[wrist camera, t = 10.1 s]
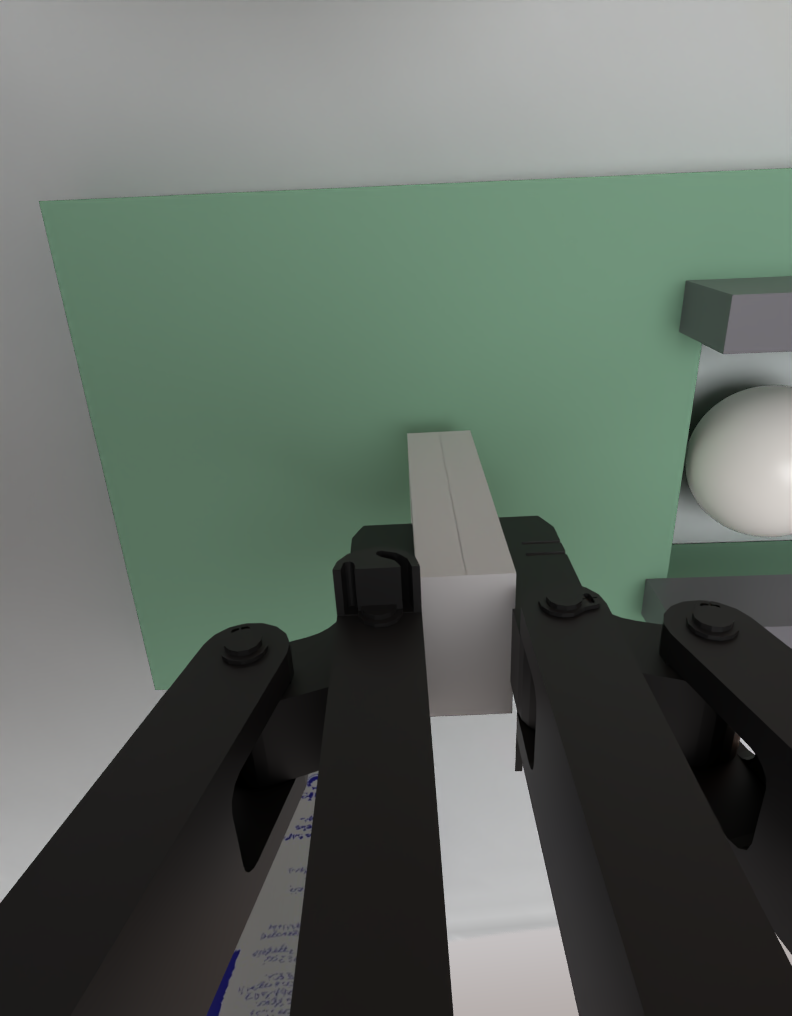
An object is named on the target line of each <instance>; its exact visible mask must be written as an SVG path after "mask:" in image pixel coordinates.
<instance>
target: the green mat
mask: <svg viewBox="0 0 792 1016" xmlns="http://www.w3.org/2000/svg"><path fill="white" fill-rule="evenodd" d="M39 204H40V208H41V212H42V216H43V221H44V225H45V229H46V233H47V237H48V242H49V246H50V250H51V254H52V258H53V263H54V267H55V271H56V275H57V279H58V284H59V288H60V292H61V296H62V300H63V305H64V309H65V313H66V317H67V321H68V326H69V330H70V334H71V338H72V342H73V347H74V351H75V355H76V359H77V363H78V368H79V372H80V376H81V380H82V384H83V388H84V393H85V397H86V401H87V405H88V409H89V414H90V418H91V422H92V426H93V430H94V435H95V439H96V443H97V447H98V451H99V456H100V460H101V464H102V468H103V472H104V477H105V481H106V485H107V489H108V493H109V498H110V502H111V506H112V510H113V514H114V519H115V523H116V527H117V531H118V535H119V540H120V544H121V548H122V552H123V556H124V560H125V565H126V569H127V573H128V577H129V581H130V586H131V590H132V594H133V598H134V602H135V607H136V611H137V615H138V619H139V623H140V628H141V632H142V636H143V640H144V644H145V649H146V653H147V657H148V661H149V665H150V670H151V674H152V678H153V682H154V686H155V690H168V689H169V688H170V687H171V685H172V684H173V683H174V681H175V680H176V679H177V678H178V676H179V675H180V674H181V673H182V671H183V670H184V669H185V667H186V666H187V665H188V664H189V662H190V661H191V660H192V658H193V657H194V656H195V655H196V653H197V652H198V651H199V650H200V648H201V647H202V646H203V644H205V643H206V642H207V641H208V640H209V639H210V638H211V637H212V636H214V635H215V634H217V633H219V632H221V631H223V630H225V629H227V628H229V627H233V626H236V625H240V624H245V623H265V624H269V625H273V626H277V627H278V628H279V629H281V630H282V631H284V632H285V633H286V634H287V637H288V639H289V642H291V641H294V640H298V639H302V638H306V637H309V636H312V635H315V634H318V633H320V632H322V631H324V630H326V629H328V628H329V627H330V626H332V625H333V624H334V623H335V622H336V621H337V611H336V601H335V592H334V582H333V572H332V570H333V568H334V566H335V564H336V562H337V561H338V560H340V559H341V558H342V557H344V556H345V555H347V554H349V553H350V551H351V542H352V538H353V536H354V535H355V534H356V533H357V532H358V531H359V530H360V529H361V528H362V527H363V526H367V525H388V524H409V523H411V508H410V486H409V463H408V441H407V433H426V432H446V431H466V430H470V431H471V435H472V438H473V441H474V444H475V447H476V450H477V453H478V456H479V459H480V462H481V465H482V469H483V472H484V475H485V478H486V481H487V484H488V487H489V490H490V493H491V496H492V500H493V503H494V506H495V509H496V512H497V515H498V517H518V516H539V517H541V518H542V519H544V520H545V521H546V522H548V523H549V524H551V525H552V526H553V527H554V528H555V530H556V532H557V535H558V537H559V539H560V543H562V545H563V547H564V549H565V553H566V554H567V555H568V558H569V560H570V562H571V564H572V566H573V568H574V570H575V572H576V574H577V576H578V579H579V581H580V583H581V585H582V586H583V587H586V588H588V589H590V590H592V591H594V592H596V593H597V594H599V595H600V596H601V597H602V598H603V600H604V601H605V602H606V603H607V605H608V607H609V609H610V611H611V613H612V614H613V615H616V616H619V617H621V618H626V619H631V620H635V621H642V622H646V621H645V620H644V618H643V616H642V614H641V612H642V604H643V597H644V589H645V582H646V579H655V578H687V577H719V576H751V575H783V574H792V541H762V542H731V543H700V544H672V541H673V534H674V527H675V521H676V514H677V507H678V500H679V494H680V487H681V480H682V474H683V467H684V460H685V453H686V447H687V440H688V433H689V427H690V420H691V413H692V406H693V400H694V393H695V386H696V380H697V373H698V366H699V359H700V353H701V346H702V343H700V342H698V341H696V340H694V339H692V338H690V337H688V336H686V335H684V334H682V333H680V332H679V328H680V320H681V313H682V305H683V298H684V291H685V283H686V280H707V279H732V278H756V277H781V276H792V168H783V169H760V170H738V171H715V172H692V173H670V174H647V175H624V176H601V177H579V178H556V179H533V180H510V181H488V182H465V183H442V184H419V185H397V186H374V187H351V188H328V189H306V190H283V191H260V192H238V193H215V194H192V195H169V196H147V197H124V198H101V199H78V200H56V201H39Z"/></svg>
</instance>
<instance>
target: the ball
mask: <svg viewBox="0 0 792 1016" xmlns="http://www.w3.org/2000/svg"><path fill="white" fill-rule="evenodd" d="M685 469H686V477H687V481H688V484H689V487H690V490H691V492H692V494H693V496H694V497H695V499H696V501H697V502H698V504H699V505H700V506H701V507H702V509H703V510H704V511H705V512H706V513H707V514H708V515H709V516H711V517H712V518H713V519H714V520H716V521H717V522H719V523H720V524H722V525H723V526H725V527H727V528H729V529H732V530H734V531H737V532H740V533H743V534H746V535H752V536H760V537H779V536H785V535H790V534H792V387H790V386H783V385H768V386H759V387H754V388H749V389H746V390H743V391H740V392H737V393H735V394H733V395H731V396H729V397H727V398H725V399H723V400H722V401H720V402H719V403H718V404H716V405H715V406H714V407H713V408H711V409H710V410H709V411H708V412H707V413H706V414H705V415H704V417H703V418H702V419H701V420H700V421H699V423H698V424H697V426H696V428H695V429H694V431H693V433H692V435H691V437H690V440H689V443H688V446H687V450H686V458H685Z"/></svg>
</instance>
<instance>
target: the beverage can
mask: <svg viewBox="0 0 792 1016" xmlns="http://www.w3.org/2000/svg"><path fill="white" fill-rule="evenodd" d="M318 772H319V771H317V772H313V773H310V774H308V779H307V785H306V788H305V790H304V793H303V795H302V797H301V799H300V802H299V804H298V806H297V809H296V811H295V813H294V815H293V818H292V820H291V822H290V825H289V827H288V829H287V832H286V834H285V836H284V838H283V841H282V843H281V845H280V848H279V850H278V852H277V854H276V857H275V859H274V861H273V864H272V866H271V868H270V871H269V873H268V875H267V877H266V880H265V882H264V884H263V887H262V889H261V891H260V893H259V896H258V898H257V900H256V903H255V905H254V907H253V910H252V912H251V914H250V916H249V919H248V921H247V923H246V926H245V928H244V930H243V932H242V935H241V937H240V939H239V942H238V944H237V946H236V949H235V951H234V953H233V955H232V958H231V960H230V962H229V965H228V967H227V969H226V971H225V974H224V976H223V978H222V981H221V983H220V985H219V988H218V990H217V992H216V994H215V997H214V999H213V1001H212V1004H211V1006H210V1008H209V1011H208V1013H207V1015H206V1016H289V1015H290V1007H291V998H292V990H293V982H294V973H295V965H296V956H297V948H298V940H299V931H300V923H301V914H302V906H303V898H304V889H305V881H306V872H307V864H308V856H309V847H310V839H311V830H312V822H313V814H314V805H315V797H316V788H317V780H318Z"/></svg>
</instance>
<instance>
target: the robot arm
mask: <svg viewBox="0 0 792 1016" xmlns="http://www.w3.org/2000/svg"><path fill="white" fill-rule="evenodd" d="M407 441H408V463H409V486H410V508H411V523H409V524H388V525H367V526H363V527H362V528H361V529H360V530H359V531H358V532H357V533H356V534H355V535H354V536H353V538H352V542H351V551H350V553H349V554H347V555H345V556H344V557H342V558H341V559H340V560H338V561H337V562H336V564H335V566H334V568H333V570H332V572H333V582H334V592H335V601H336V611H337V621H336V622H335V623H334V624H333V625H332V626H330V627H329V628H328V629H326V630H324V631H322V632H320V633H318V634H315V635H312V636H309V637H306V638H302V639H298V640H294V641H291V642H289V639H288V637H287V634H286V633H285V632H284V631H282V630H281V629H279V628H278V627H277V626H273V625H269V624H265V623H245V624H240V625H236V626H233V627H229V628H227V629H225V630H223V631H221V632H219V633H217V634H215V635H214V636H212V637H211V638H210V639H209V640H208V641H207V642H206V643H205V644H203V646H202V647H201V648H200V650H199V651H198V652H197V653H196V655H195V656H194V657H193V658H192V660H191V661H190V662H189V664H188V665H187V666H186V667H185V669H184V670H183V671H182V673H181V674H180V675H179V676H178V678H177V679H176V680H175V681H174V683H173V684H172V685H171V687H170V688H169V689H168V690H167V692H166V693H165V694H164V695H163V697H162V698H161V699H160V701H159V702H158V703H157V704H156V706H155V707H154V708H153V709H152V711H151V712H150V713H149V715H148V716H147V717H146V718H145V720H144V721H143V722H142V723H141V725H140V726H139V727H138V729H137V730H136V731H135V732H134V734H133V735H132V736H131V737H130V739H129V740H128V741H127V743H126V744H125V745H124V746H123V748H122V749H121V750H120V751H119V753H118V754H117V755H116V757H115V758H114V759H113V760H112V762H111V763H110V764H109V765H108V767H107V768H106V769H105V771H104V772H103V773H102V774H101V776H100V777H99V778H98V779H97V781H96V782H95V783H94V785H93V786H92V787H91V788H90V790H89V791H88V792H87V793H86V795H85V796H84V797H83V799H82V800H81V801H80V802H79V804H78V805H77V806H76V807H75V809H74V810H73V811H72V813H71V814H70V815H69V816H68V818H67V819H66V820H65V821H64V823H63V824H62V825H61V827H60V828H59V829H58V830H57V832H56V833H55V834H54V835H53V837H52V838H51V839H50V841H49V842H48V843H47V844H46V846H45V847H44V848H43V849H42V851H41V852H40V853H39V855H38V856H37V857H36V858H35V860H34V861H33V862H32V863H31V865H30V866H29V867H28V869H27V870H26V871H25V872H24V874H23V875H22V876H21V877H20V879H19V880H18V881H17V883H16V884H15V885H14V886H13V888H12V889H11V890H10V891H9V893H8V894H7V895H6V897H5V898H4V899H3V900H2V902H1V903H0V1016H206V1015H207V1013H208V1011H209V1008H210V1006H211V1004H212V1001H213V999H214V997H215V994H216V992H217V990H218V988H219V985H220V983H221V981H222V978H223V976H224V974H225V971H226V969H227V967H228V965H229V962H230V960H231V958H232V955H233V953H234V951H235V949H236V946H237V944H238V942H239V939H240V937H241V935H242V932H243V930H244V928H245V926H246V923H247V921H248V919H249V916H250V914H251V912H252V910H253V907H254V905H255V903H256V900H257V898H258V896H259V893H260V891H261V889H262V887H263V884H264V882H265V880H266V877H267V875H268V873H269V871H270V868H271V866H272V864H273V861H274V859H275V857H276V854H277V852H278V850H279V848H280V845H281V843H282V841H283V838H284V836H285V834H286V832H287V829H288V827H289V825H290V822H291V820H292V818H293V815H294V813H295V811H296V809H297V806H298V804H299V802H300V799H301V797H302V795H303V793H304V790H305V788H306V785H307V779H308V774H310V773H313V772H317V771H319V772H318V780H317V788H316V797H315V805H314V814H313V822H312V830H311V839H310V847H309V856H308V864H307V872H306V881H305V889H304V898H303V906H302V914H301V923H300V931H299V940H298V948H297V956H296V965H295V973H294V982H293V990H292V998H291V1007H290V1015H289V1016H453V1004H452V992H451V979H450V966H449V954H448V940H447V928H446V915H445V902H444V889H443V876H442V863H441V851H440V838H439V825H438V812H437V799H436V787H435V774H434V761H433V748H432V735H431V723H430V717H435V716H458V715H481V714H504V713H512V696H513V695H514V699H515V703H516V707H517V733H516V762H515V771H522V766H523V768H524V772H525V776H526V781H527V785H528V790H529V794H530V799H531V803H532V808H533V812H534V817H535V821H536V826H537V830H538V834H539V839H540V843H541V848H542V852H543V857H544V861H545V866H546V870H547V875H548V879H549V884H550V888H551V892H552V897H553V901H554V906H555V910H556V915H557V919H558V924H559V928H560V933H561V937H562V942H563V946H564V950H565V955H566V959H567V963H568V968H569V973H570V977H571V981H572V986H573V990H574V995H575V1000H576V1004H577V1008H578V1013H579V1016H792V965H791V964H790V962H789V960H788V958H787V956H786V954H785V952H784V950H783V948H782V946H781V944H780V942H779V940H778V938H777V936H778V937H779V939H780V940H781V941H782V942H783V944H784V945H785V946H786V948H787V949H788V950H789V952H790V953H791V954H792V649H791V648H790V647H789V646H787V645H786V644H785V643H783V642H782V641H781V640H780V639H778V638H777V637H776V636H774V635H773V634H772V633H771V632H769V631H768V630H767V629H766V628H764V627H763V626H762V625H760V624H759V623H758V622H757V621H755V620H754V619H753V618H751V617H750V616H748V615H746V614H745V613H743V612H741V611H740V610H738V609H736V608H733V607H730V606H727V605H724V604H721V603H718V602H713V601H704V600H696V601H683V602H680V603H678V604H675V605H672V606H670V608H669V609H668V610H667V611H666V612H665V613H664V616H663V623H662V624H656V623H649V622H642V621H635V620H631V619H626V618H621V617H619V616H616V615H613V614H612V613H611V611H610V609H609V607H608V605H607V603H606V602H605V601H604V600H603V598H602V597H601V596H600V595H599V594H597V593H596V592H594V591H592V590H590V589H588V588H586V587H583V586H582V585H581V583H580V581H579V579H578V576H577V574H576V572H575V570H574V568H573V566H572V564H571V562H570V560H569V558H568V555H567V554H566V553H565V549H564V547H563V545H562V543H560V539H559V537H558V535H557V532H556V530H555V528H554V527H553V526H552V525H551V524H549V523H548V522H546V521H545V520H544V519H542V518H541V517H539V516H518V517H498V515H497V512H496V509H495V506H494V503H493V500H492V496H491V493H490V490H489V487H488V484H487V481H486V478H485V475H484V472H483V469H482V465H481V462H480V459H479V456H478V453H477V450H476V447H475V444H474V441H473V438H472V435H471V431H470V430H466V431H446V432H426V433H407ZM740 737H741V738H742V739H743V740H744V741H745V742H746V743H747V744H748V745H749V746H750V747H751V749H752V750H753V751H754V753H755V755H754V754H753V753H751V752H750V751H749V750H748V749H747V748H746V747H745V746H744V745H743V744H742V743H741V742H740ZM775 933H776V934H775ZM776 935H777V936H776Z"/></svg>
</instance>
